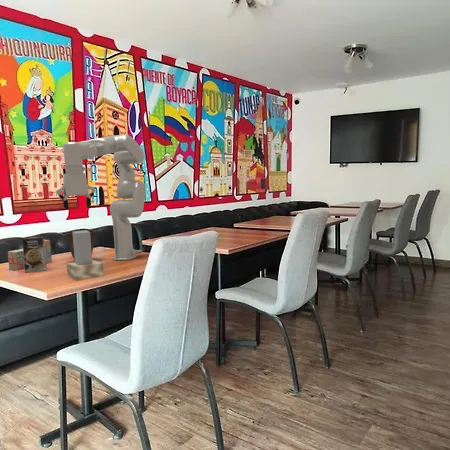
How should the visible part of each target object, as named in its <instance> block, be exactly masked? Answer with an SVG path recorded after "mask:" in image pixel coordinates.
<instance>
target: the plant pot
mask: <svg viewBox="0 0 450 450" xmlns="http://www.w3.org/2000/svg"><path fill="white" fill-rule="evenodd" d="M84 230H85V229H84ZM84 230H83V229H79V230H78V229H77V231H84ZM86 230H87V231H89V232H90V239H91V252H92V253H93V252H94V246H95V240H96V230H94V229H86ZM74 231H75V230H70V231H66V232H65V237H66V240H67V241H66V242H67V244H68V248H69V251H70V253H71V255H72V256H71V257H72V258H73V260H74V261H75V257H74V245H73V232H74Z"/></svg>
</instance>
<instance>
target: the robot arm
mask: <svg viewBox="0 0 450 450" xmlns="http://www.w3.org/2000/svg"><path fill="white" fill-rule="evenodd" d="M62 146H63V147H62V149H63V156H64V158H63V159H64V160H63V161H64V169H65V173H64V174H63V182H62V187H60V188H59V189H57V190H56V191H55V193H56V195H57V196H58V197H59V198H60V199H61V200H62V201H63V208H64V209H65V210H69V200H68V198H69V197H70V196H71V197H72V196H73V197H74V196H75V197H76V196H84V197H86V199H85V200H86V201H85V202H86V208H91V206H92V200H91V199H92V197H93V196H95V193H96V191H97V190H96V188H94V187H93V186H91V185H88V179H87V175H86V173H85V171H87V167H86V166H85V167H84V166H83V164H84V163H83V160H91V159H93V158H95V157H101V156H107V155H110V154H113V159H114V162H115V163H116V166H117V168H118V172H119V174H118V175H119V176H118V180H117V186H116V196H117V197H118V198H119V199H116V200H114V201H112V202H111V204H110V205H109V212H110V216H111V219H112V229H113V242H114V243H113V245H114V256H112V260H114V261H127V260H134V259H136V258H137V254H143V253H142V252H143V250H142V249H135V248H134V245H133V231H132V227H133V226H132V224H131V221H130V220H129V219H130V218H131V219H132V218H140V217H141V216H142V214H143V211H144V205H145V201H146V194H147V188H146V184H145V183H144V182H143V181H141V180H136V172H135V170H134V168H133V167H132V166H131V165H132V164H136V165H137V164H141V163H143V161H144V160H145V152H144V150H143V148H142V147H141V146H140V145H139V144H138V142H137V141H136V140H135V139H134V138H133V137H132V136H130V135H129V134H118V135H117V134H116V135H115V134H114V135H108V136H104V137H98V138H94V139H89V140H84V141H78V142H76V141H69V142H64V143H63V145H62ZM89 190H91V191H90V193H89ZM61 192H63V195H62V193H61Z"/></svg>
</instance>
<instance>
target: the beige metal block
mask: <svg viewBox="0 0 450 450" xmlns="http://www.w3.org/2000/svg"><path fill="white" fill-rule="evenodd" d="M66 271H67V277H68V278H70V277H71V279H72V278H73V279H72V280H74V281H79V280H80V279H81V280H86V278H87V279H93V278H98V277H104V265H103V262H100V261H99V260H95V259H92V264H85V265H77V264H76V263H75V261H74V262H67V263H66Z"/></svg>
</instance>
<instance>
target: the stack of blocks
mask: <svg viewBox="0 0 450 450" xmlns="http://www.w3.org/2000/svg"><path fill="white" fill-rule="evenodd" d="M45 253H46V265H47V264H49V263H50V264H51V263H52V261H53V260H52V257H53V256H52V246H51V240H50V239H45ZM7 260H8V262H7V263H8V268H9V270H10V271H20V270H25V265H24V253H23V248H21V249H15V250H14V249H13V250H9V251H7Z"/></svg>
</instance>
